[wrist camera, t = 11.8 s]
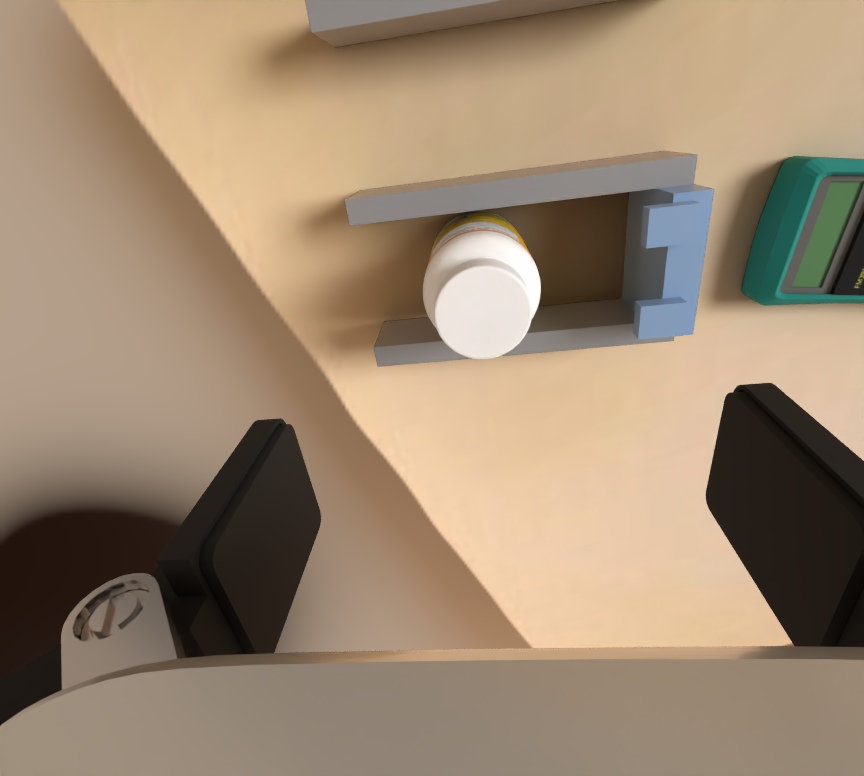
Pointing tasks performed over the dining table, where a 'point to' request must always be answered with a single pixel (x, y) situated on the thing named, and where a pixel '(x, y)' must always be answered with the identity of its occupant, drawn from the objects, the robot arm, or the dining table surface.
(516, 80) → the dining table surface
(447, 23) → the grey parallel walls
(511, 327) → the supplement bottle
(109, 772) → the robot arm
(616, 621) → the dining table surface
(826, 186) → the digital multimeter
